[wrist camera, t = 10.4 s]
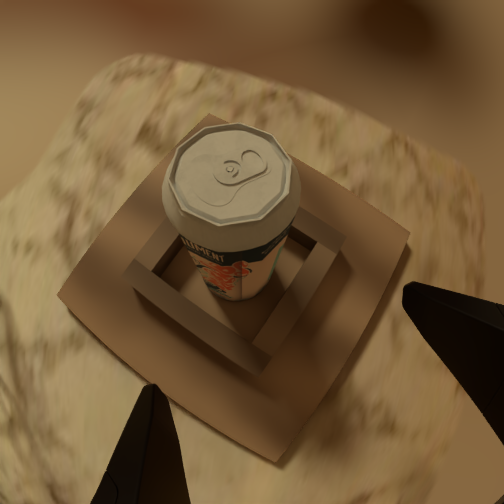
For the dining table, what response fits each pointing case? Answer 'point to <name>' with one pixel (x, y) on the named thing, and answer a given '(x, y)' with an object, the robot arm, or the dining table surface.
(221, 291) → the beer can
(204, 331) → the brown square frame
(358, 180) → the dining table surface
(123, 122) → the dining table surface
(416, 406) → the dining table surface
